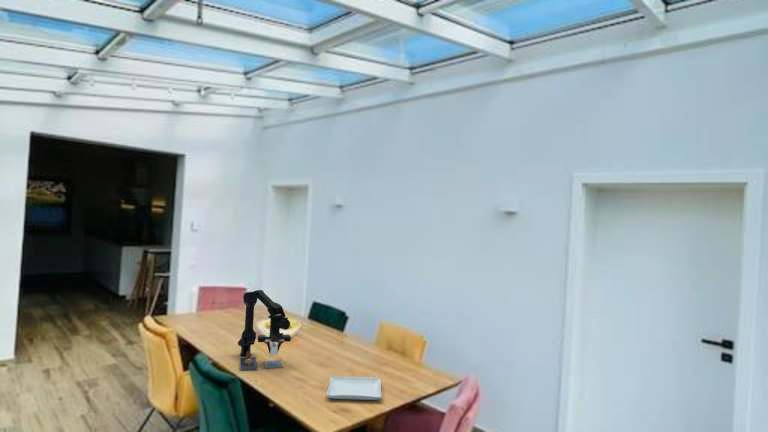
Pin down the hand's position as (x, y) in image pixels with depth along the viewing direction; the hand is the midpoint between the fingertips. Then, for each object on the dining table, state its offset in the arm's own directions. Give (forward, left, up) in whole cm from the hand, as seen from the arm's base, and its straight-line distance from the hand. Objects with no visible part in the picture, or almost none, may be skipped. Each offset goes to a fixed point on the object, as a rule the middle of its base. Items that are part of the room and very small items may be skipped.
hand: (273, 352), depth 273 cm
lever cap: (0, 0, -1) cm, 1 cm away
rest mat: (0, 0, -7) cm, 7 cm away
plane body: (0, -14, -7) cm, 16 cm away
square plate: (+50, +37, -8) cm, 63 cm away
